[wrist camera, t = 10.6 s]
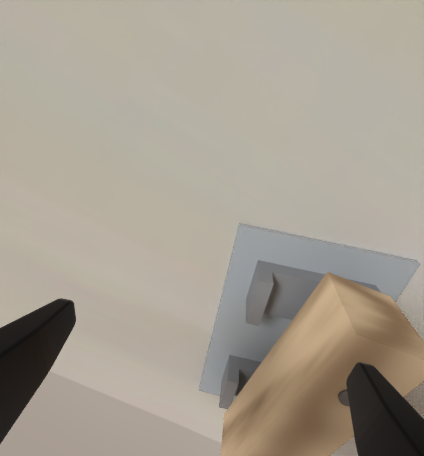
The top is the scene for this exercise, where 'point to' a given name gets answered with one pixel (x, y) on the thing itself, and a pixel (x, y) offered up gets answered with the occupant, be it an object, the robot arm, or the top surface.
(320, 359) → the oak rail
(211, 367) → the mount board
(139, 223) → the top surface
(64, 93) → the top surface
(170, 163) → the top surface
